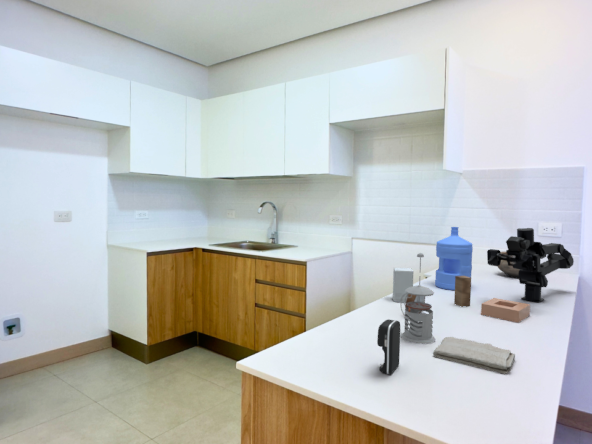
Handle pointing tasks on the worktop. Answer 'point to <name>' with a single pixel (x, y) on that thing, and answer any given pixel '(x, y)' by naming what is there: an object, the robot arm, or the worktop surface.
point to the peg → (462, 291)
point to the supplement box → (401, 283)
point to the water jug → (453, 259)
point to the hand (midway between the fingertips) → (500, 264)
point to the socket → (505, 310)
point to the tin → (415, 300)
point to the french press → (418, 315)
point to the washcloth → (475, 354)
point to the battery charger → (389, 344)
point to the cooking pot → (508, 268)
